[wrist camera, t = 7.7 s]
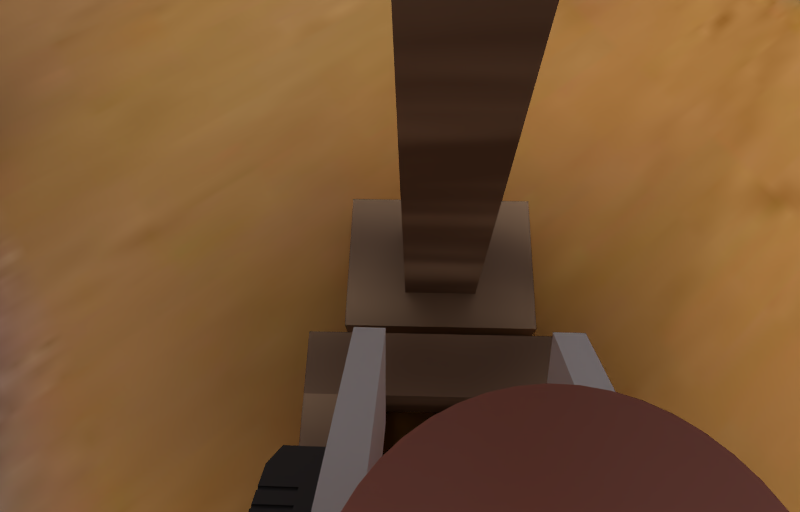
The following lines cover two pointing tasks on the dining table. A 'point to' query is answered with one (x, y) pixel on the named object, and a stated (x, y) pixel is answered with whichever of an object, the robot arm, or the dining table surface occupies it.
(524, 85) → the awning socket
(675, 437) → the peg
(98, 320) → the dining table surface
